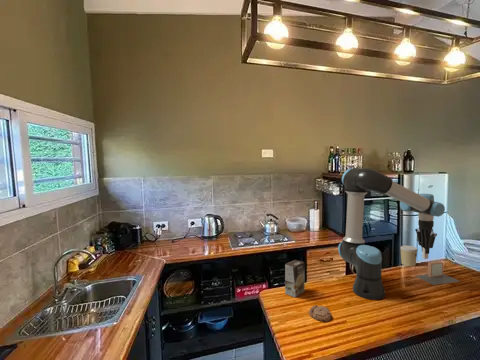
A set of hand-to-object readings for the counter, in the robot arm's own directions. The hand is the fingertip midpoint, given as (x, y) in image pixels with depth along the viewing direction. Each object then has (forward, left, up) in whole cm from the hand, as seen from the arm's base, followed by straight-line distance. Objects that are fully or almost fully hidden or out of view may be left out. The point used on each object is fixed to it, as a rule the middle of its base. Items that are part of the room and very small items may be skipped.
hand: (425, 258), depth 161 cm
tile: (0, -7, -8) cm, 11 cm away
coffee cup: (0, +12, -9) cm, 15 cm away
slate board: (-2, -10, -9) cm, 14 cm away
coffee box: (-85, -4, -9) cm, 86 cm away
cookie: (-82, -26, -10) cm, 87 cm away
